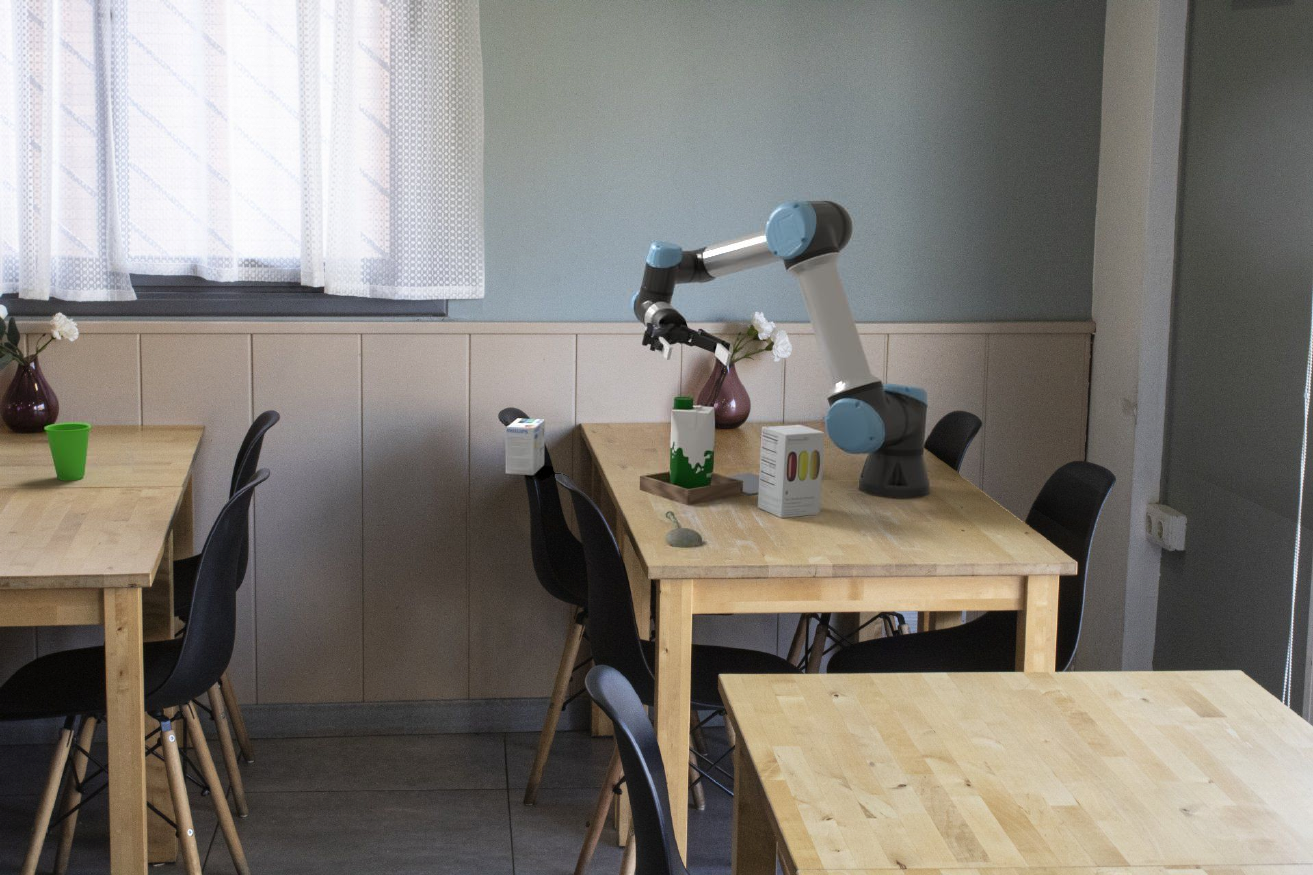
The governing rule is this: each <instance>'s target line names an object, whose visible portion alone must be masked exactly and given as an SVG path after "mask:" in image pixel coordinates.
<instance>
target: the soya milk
mask: <svg viewBox="0 0 1313 875" xmlns="http://www.w3.org/2000/svg"><path fill="white" fill-rule="evenodd" d="M673 399H674V400H673V407H672V409H671V413H670V414H671V418H670V421H671V422H670V450H669V452H670V453H669V454H670V456H669V471H670V482H671V484H672V485H676V486H679V487H682V488H686V489H692V488H698V487H704V486H710V485H711V480H712V475H713V472H714V467H715V466H714V465H715V438H716V436H715V434H716V427H715V426H716V419H715V406H703V405H699V404H698V405H694V398H693V397H690V396H676V397H673Z"/></svg>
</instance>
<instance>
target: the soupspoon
mask: <svg viewBox="0 0 1313 875" xmlns="http://www.w3.org/2000/svg"><path fill="white" fill-rule="evenodd" d="M664 516H665V517H666V518H668V519H671V521H672V523H673V524H674V526H675V529H672V530H670V531H668V532H666V534H665V539H666V542H667V543H668V545H670V546H672V547H674V548H681V549H684V548H685V549H686V548H687V549H689V548H691V549H692V548H697V547H701V546H702V543H703V537H702V535H701V534H700V533H699V532H698V531H696V530H694V529H693V528H687V527H682V526H681V525H680V523H679V521H678V520H677V519H676V518H675V513H674V512H673V511H672V510H667V511H666V512H665V515H664Z"/></svg>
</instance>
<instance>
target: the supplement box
mask: <svg viewBox="0 0 1313 875" xmlns="http://www.w3.org/2000/svg"><path fill="white" fill-rule="evenodd" d="M760 438H761V439H760V440H761V441H760V457H759V474H758V475H759V494H757V496H758V498H757V499H758V500H757V508H759V509H761V510H763V511H765V512H767V513H769V514H771V515H774V516H776V517H778V518H780V519H785V518H795V517H804V516H814V515H820V509H821V493H822V480H823V479H822V476H823V463H824V462H823V460H824V445H825V444H824V443H825V432H824V431H821V430H819V429H814V428H812V427H809V426H805V425H802V424H795V425H777V426H762V427H761V437H760Z"/></svg>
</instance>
